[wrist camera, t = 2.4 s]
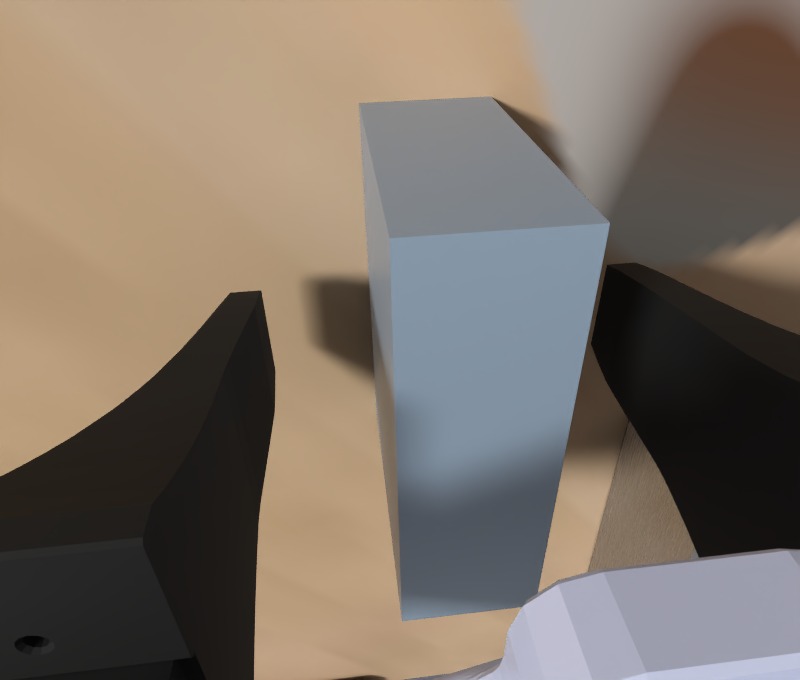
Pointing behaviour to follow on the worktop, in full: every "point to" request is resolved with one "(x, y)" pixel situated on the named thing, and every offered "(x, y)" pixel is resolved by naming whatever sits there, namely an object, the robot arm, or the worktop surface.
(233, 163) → the worktop surface
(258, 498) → the robot arm
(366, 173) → the block
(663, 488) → the rack
